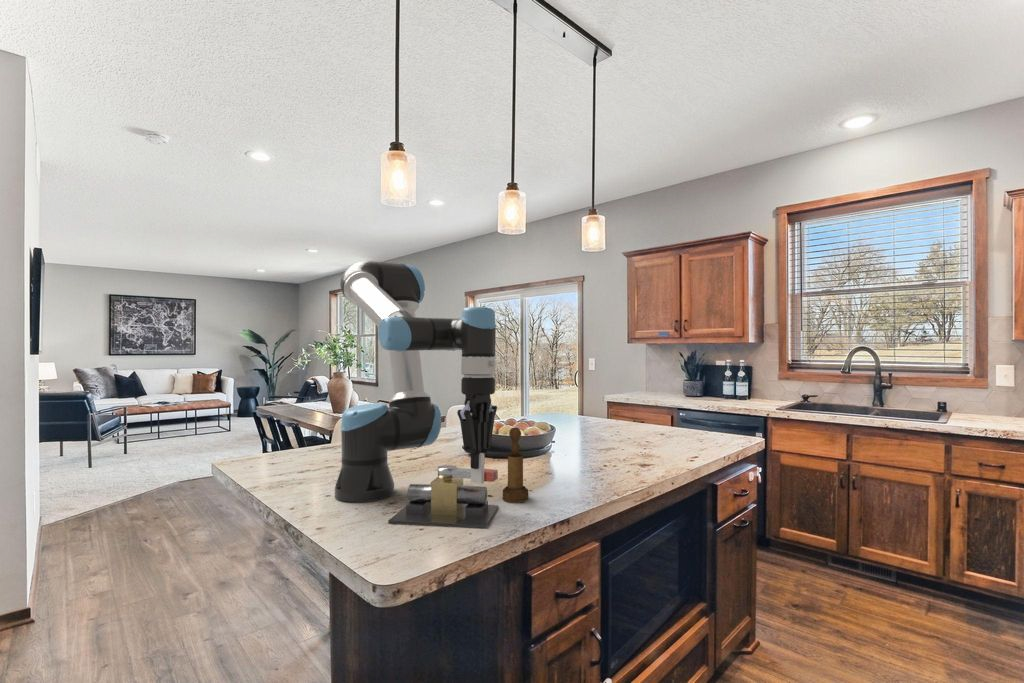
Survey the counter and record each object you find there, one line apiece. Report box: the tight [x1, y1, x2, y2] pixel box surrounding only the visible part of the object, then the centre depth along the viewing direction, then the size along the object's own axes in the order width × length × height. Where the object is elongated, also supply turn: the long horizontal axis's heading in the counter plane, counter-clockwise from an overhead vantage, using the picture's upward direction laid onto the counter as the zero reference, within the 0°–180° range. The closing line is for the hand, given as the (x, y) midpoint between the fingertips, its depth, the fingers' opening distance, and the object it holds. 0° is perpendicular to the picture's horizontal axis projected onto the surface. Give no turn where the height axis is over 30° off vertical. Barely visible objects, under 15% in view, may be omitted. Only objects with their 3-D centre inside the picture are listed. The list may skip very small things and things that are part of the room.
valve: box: [387, 476, 499, 529], centre depth 117 cm, size 22×14×8 cm, turn 81°
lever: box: [437, 464, 499, 483], centre depth 117 cm, size 14×4×2 cm, turn 70°
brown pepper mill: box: [502, 427, 529, 504], centre depth 129 cm, size 7×6×18 cm
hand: (477, 482), depth 114 cm, fingers closed
